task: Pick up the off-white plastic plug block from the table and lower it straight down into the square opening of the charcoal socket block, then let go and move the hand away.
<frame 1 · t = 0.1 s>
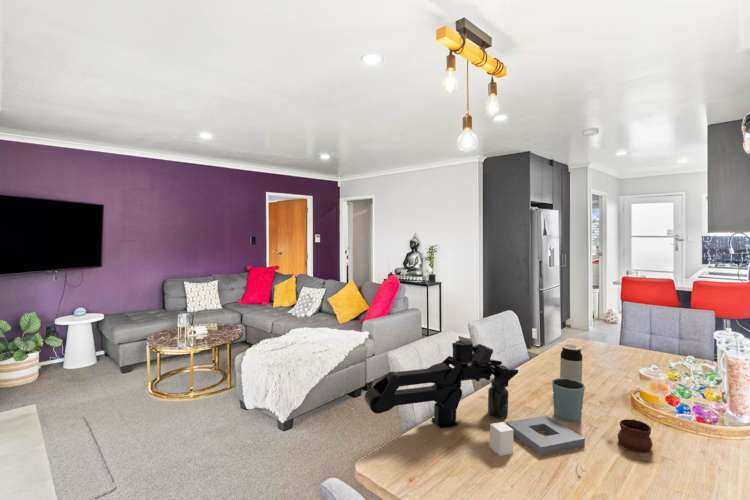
hand: (509, 366, 140), 17 cm above the table, tool horizontal, fingers open, 9 cm apart
plug: (501, 450, 116), on the table
ceramic pot: (634, 447, 119), on the table
travel mug: (570, 390, 162), on the table
socket: (543, 437, 123), on the table
supplement bottle: (497, 414, 139), on the table
teal cup: (567, 417, 138), on the table
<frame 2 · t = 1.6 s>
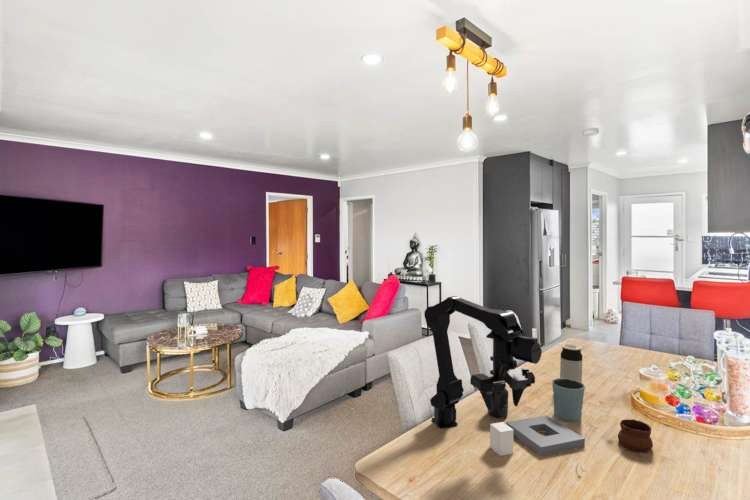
hand: (502, 407, 116), 13 cm above the table, tool pointing down, fingers open, 9 cm apart
nothing on the table moved.
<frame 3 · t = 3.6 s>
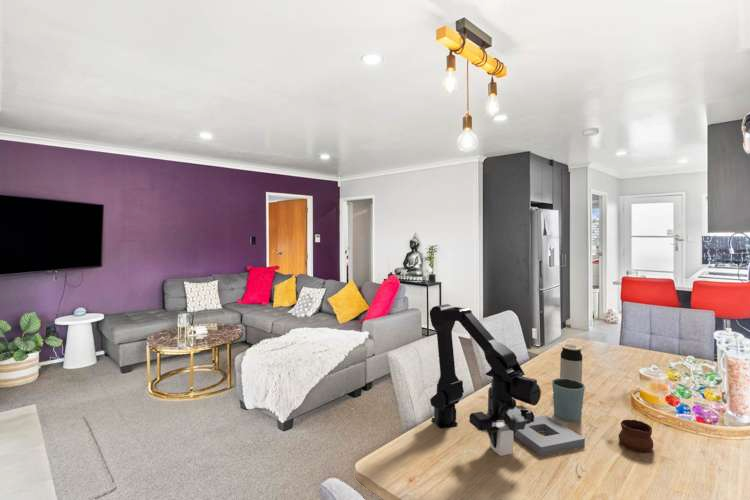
hand: (501, 445, 116), 1 cm above the table, tool pointing down, fingers closed on plug, 4 cm apart
plug: (501, 450, 116), on the table, touching gripper
everything else where it was.
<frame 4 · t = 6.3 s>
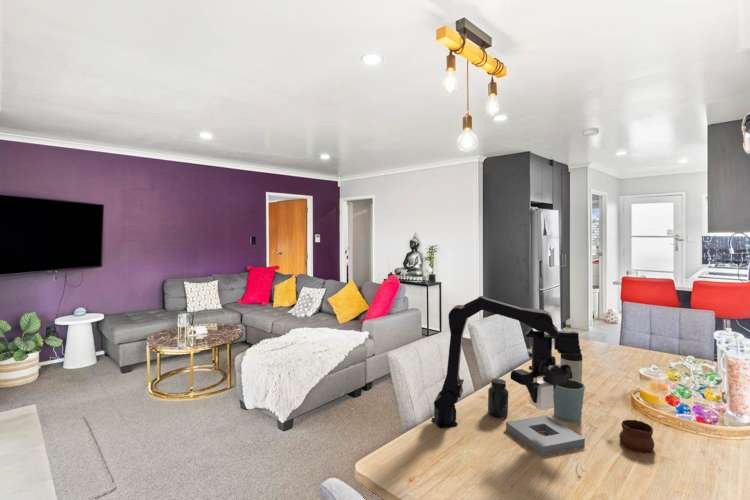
hand: (541, 401, 122), 12 cm above the table, tool pointing down, fingers closed on plug, 4 cm apart
plug: (541, 405, 122), point 11 cm above the table, touching gripper
everything else where it was.
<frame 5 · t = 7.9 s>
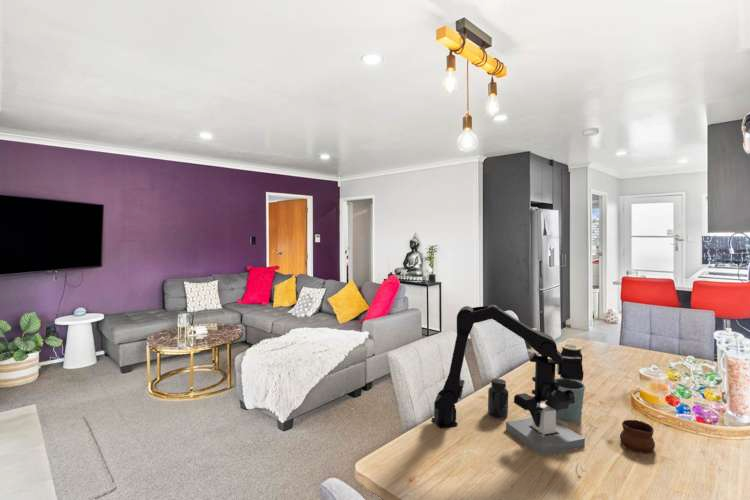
hand: (543, 425, 123), 4 cm above the table, tool pointing down, fingers closed on plug, 4 cm apart
plug: (543, 429, 123), point 3 cm above the table, touching gripper
everything else where it was.
when the fingers open (3 cm above the table, at t = 9.0 s): plug drops 2 cm, resting in socket.
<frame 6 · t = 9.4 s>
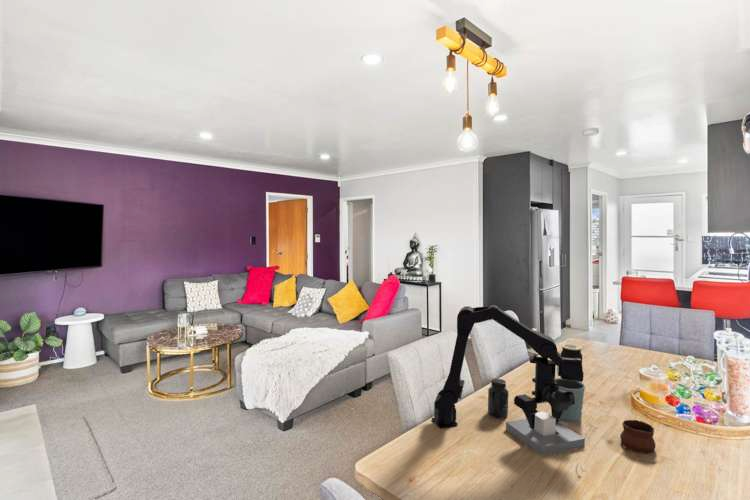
hand: (543, 426, 123), 3 cm above the table, tool pointing down, fingers open, 8 cm apart
plug: (543, 438, 123), resting in socket
everything else where it was.
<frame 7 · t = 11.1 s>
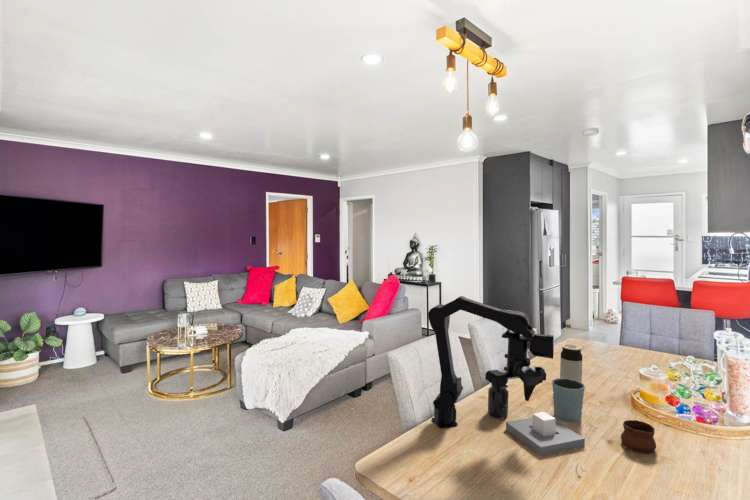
hand: (514, 402, 123), 11 cm above the table, tool pointing down, fingers open, 9 cm apart
nothing on the table moved.
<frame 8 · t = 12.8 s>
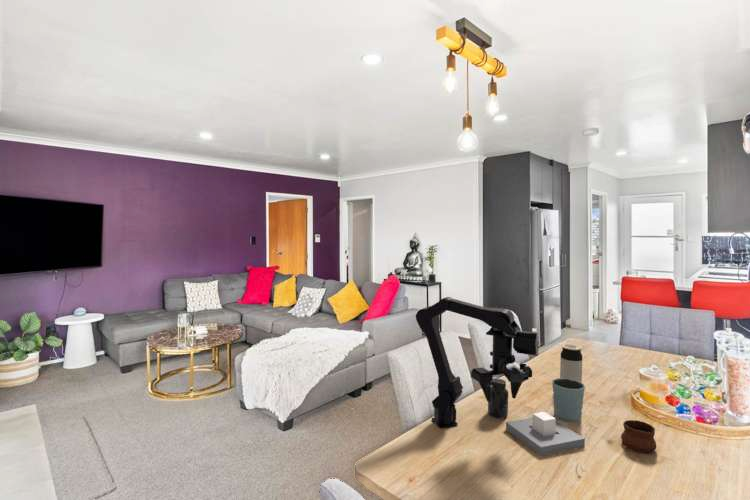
hand: (501, 399, 123), 12 cm above the table, tool pointing down, fingers open, 9 cm apart
nothing on the table moved.
at the end: plug 0.1 cm off-centre on the socket, point 0.0 cm above the socket's base; plug tilted 0°; the gripper is holding nothing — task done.
